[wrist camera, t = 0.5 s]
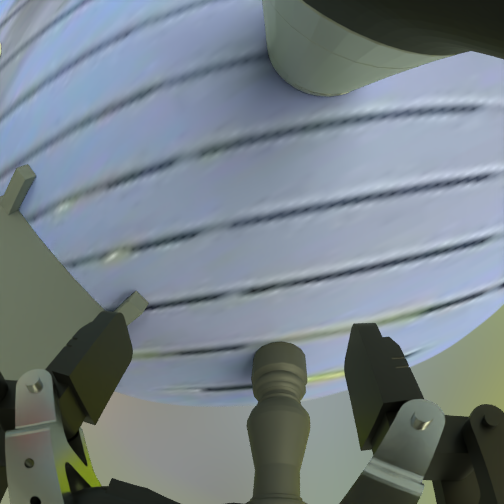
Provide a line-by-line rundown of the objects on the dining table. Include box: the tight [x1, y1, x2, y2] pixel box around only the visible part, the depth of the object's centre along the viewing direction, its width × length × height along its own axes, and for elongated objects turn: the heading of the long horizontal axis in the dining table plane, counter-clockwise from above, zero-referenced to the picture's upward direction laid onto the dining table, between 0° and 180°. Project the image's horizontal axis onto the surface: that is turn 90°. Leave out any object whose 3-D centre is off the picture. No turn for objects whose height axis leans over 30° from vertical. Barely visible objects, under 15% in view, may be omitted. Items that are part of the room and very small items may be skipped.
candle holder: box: [246, 342, 310, 504], centre depth 23 cm, size 6×6×25 cm
